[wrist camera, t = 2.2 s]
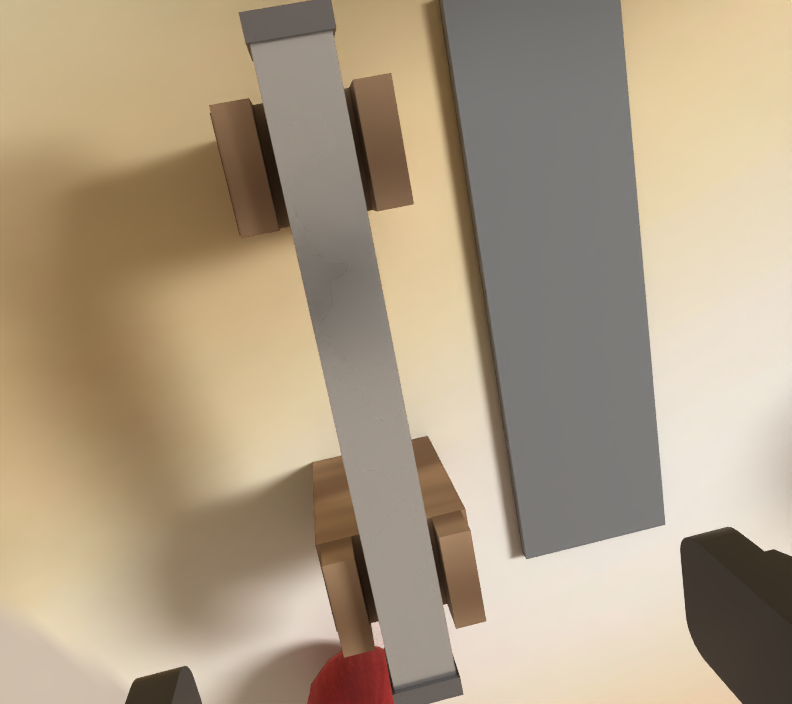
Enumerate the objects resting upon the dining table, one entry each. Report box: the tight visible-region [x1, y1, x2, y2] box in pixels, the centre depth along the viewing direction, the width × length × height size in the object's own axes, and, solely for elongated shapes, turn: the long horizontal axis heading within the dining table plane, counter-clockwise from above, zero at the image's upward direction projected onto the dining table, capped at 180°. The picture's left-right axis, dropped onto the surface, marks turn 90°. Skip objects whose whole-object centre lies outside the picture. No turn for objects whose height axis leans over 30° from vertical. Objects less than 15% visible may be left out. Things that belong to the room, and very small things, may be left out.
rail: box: [239, 0, 463, 704], centre depth 23 cm, size 24×3×3 cm, turn 11°
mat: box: [439, 0, 665, 559], centre depth 32 cm, size 28×8×1 cm, turn 11°
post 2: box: [312, 436, 486, 658], centre depth 29 cm, size 4×6×10 cm, turn 101°
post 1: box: [209, 73, 414, 238], centre depth 25 cm, size 4×6×10 cm, turn 101°
